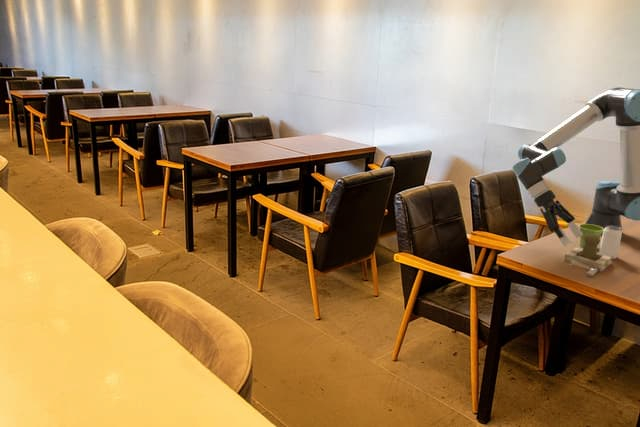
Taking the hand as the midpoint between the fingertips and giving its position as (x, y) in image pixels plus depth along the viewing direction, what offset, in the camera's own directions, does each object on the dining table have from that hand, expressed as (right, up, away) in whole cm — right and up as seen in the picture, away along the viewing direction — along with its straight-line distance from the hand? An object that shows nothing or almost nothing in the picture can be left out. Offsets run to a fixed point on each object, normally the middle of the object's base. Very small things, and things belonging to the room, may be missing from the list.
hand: (574, 240), depth 206 cm
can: (+16, -7, +6) cm, 19 cm away
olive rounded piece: (+4, -9, -2) cm, 10 cm away
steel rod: (+2, -11, -11) cm, 16 cm away
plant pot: (+13, -4, +16) cm, 21 cm away
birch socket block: (+4, -8, -2) cm, 10 cm away
